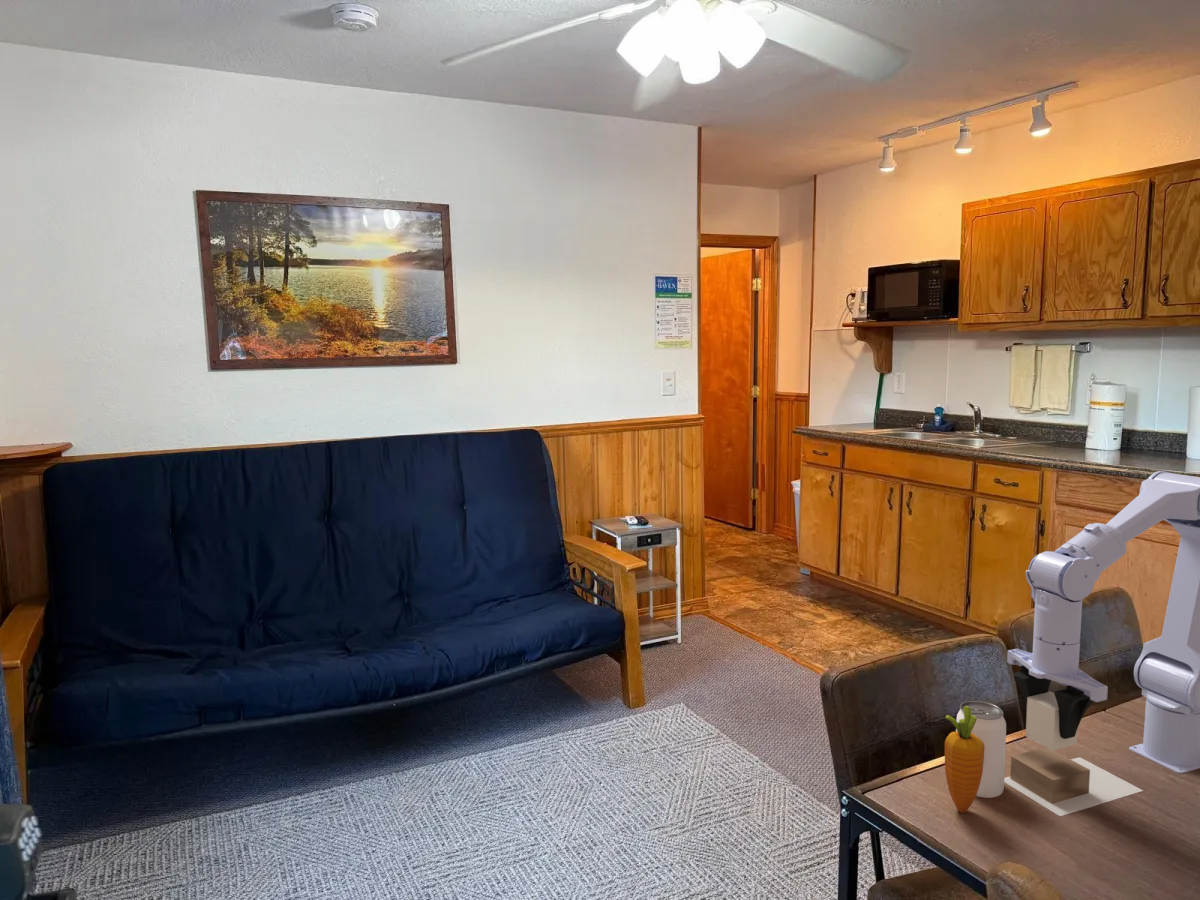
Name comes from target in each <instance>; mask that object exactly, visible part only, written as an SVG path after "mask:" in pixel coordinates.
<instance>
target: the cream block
mask: <svg viewBox="0 0 1200 900" xmlns="http://www.w3.org/2000/svg"><path fill="white" fill-rule="evenodd" d="M1054 693H1055V692H1053V691H1048V692H1047V693H1043V694H1038V695H1034V696H1030V697H1027V708H1026V721H1025V737H1026V738H1028V739H1030V740H1032V741H1033V742H1036V743H1037V744H1038V745H1039V744H1040V745H1041V746H1043V747H1044V748H1045V747H1047V748H1048V749H1050V750H1052V751H1058V750H1061V749H1065V748H1069V747H1071V746H1076V745H1077V744H1078V730H1077V731H1076V734H1075V737H1071V738H1068V739H1063V738H1061V737H1060V731H1059V708H1058V704H1057V700H1056V697H1055V695H1054Z"/></svg>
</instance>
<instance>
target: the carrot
mask: <svg viewBox="0 0 1200 900" xmlns="http://www.w3.org/2000/svg"><path fill="white" fill-rule="evenodd" d="M963 711H964V719H960V720H959V722H957V719H956V718H954V717H952V716H951V715H948V714H946V715H945V719H946V720H948V721H949V722H950V723H951V724H952V725H953V726H954V727H955V730H956V729H957V732H956V731H951V732H950V733H948V736H946V738H945V740H944V769H945V770H944V771H945V772H944V773H945V776H946V777H945V778H946V782H947V783H946V784H947V787H948V792H949V794H950V797H951V800H952V802H953V804H954V806H955V809H956V810H957V811H958V812H959V813H962V814H965V813H967V812H968V810H969V809H970V807H971V806H972V804H973V802H974V800H975V799H976V797H977V796H976V795H977V792H978V789H979V785H980V781H981V777H982V772H983V762H984V749H985V748H984V743H983V742H982V741H981V740H980V739H979V738H978V737H977V736H976V735H975V734H972V733H971V731H972V729H973V727H974V725H975V723H976V720H977V718H976V717H975V716H974V715H972V714H971V708H969V707H968V706H965V707H963Z"/></svg>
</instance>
